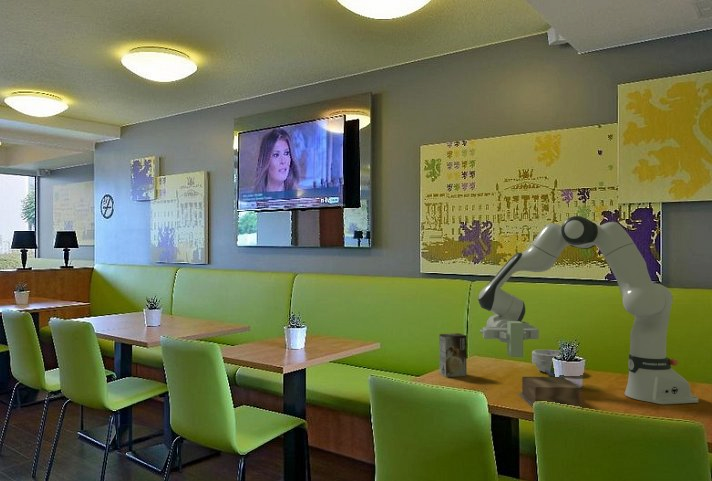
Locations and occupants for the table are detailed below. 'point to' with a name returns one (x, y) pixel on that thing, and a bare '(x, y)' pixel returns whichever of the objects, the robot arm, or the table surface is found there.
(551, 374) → the geometric puzzle
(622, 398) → the table surface
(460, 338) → the coffee box
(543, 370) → the paper bowls
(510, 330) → the pillar
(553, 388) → the base
